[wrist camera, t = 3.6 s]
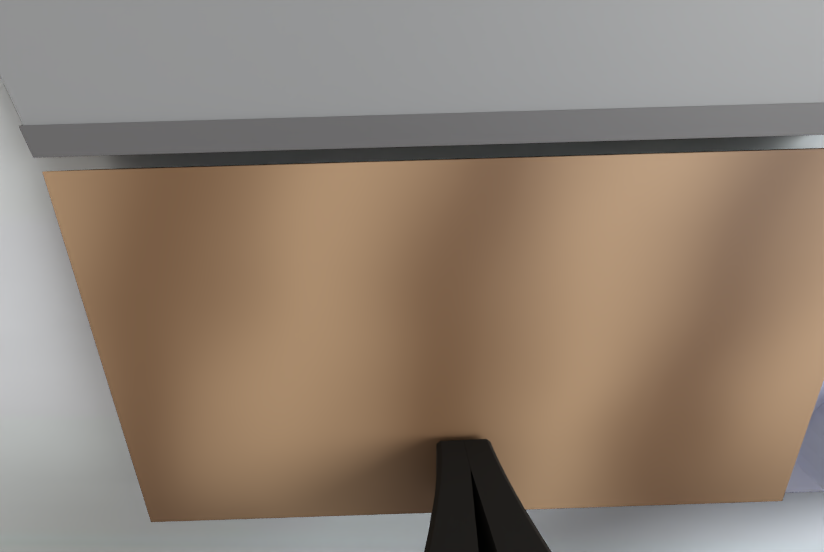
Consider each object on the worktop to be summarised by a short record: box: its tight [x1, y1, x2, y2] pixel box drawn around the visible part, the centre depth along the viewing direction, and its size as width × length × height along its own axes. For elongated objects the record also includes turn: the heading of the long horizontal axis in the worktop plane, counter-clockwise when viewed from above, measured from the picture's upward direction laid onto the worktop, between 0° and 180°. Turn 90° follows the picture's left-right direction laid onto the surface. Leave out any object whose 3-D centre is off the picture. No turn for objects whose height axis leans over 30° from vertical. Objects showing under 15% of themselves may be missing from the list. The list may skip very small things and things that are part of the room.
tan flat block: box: [43, 148, 824, 522], centre depth 10 cm, size 18×10×2 cm, turn 91°
